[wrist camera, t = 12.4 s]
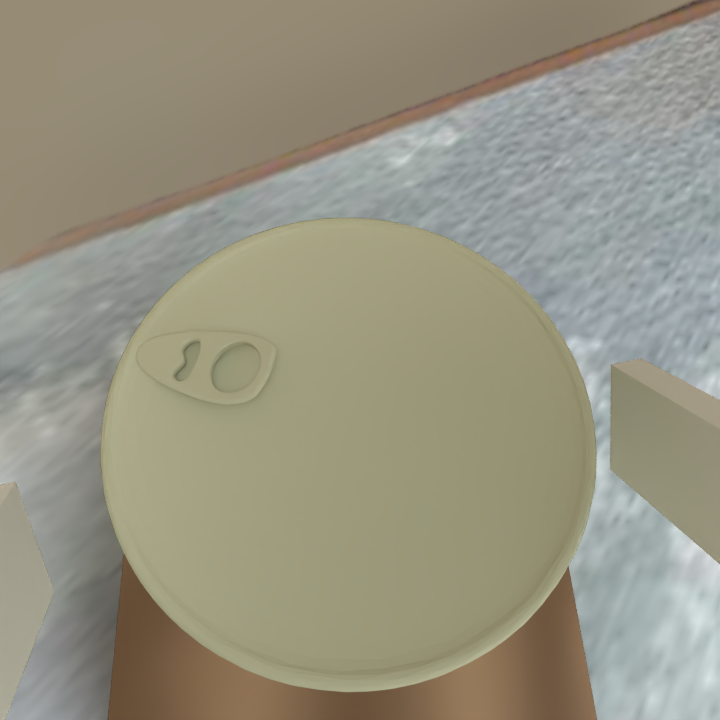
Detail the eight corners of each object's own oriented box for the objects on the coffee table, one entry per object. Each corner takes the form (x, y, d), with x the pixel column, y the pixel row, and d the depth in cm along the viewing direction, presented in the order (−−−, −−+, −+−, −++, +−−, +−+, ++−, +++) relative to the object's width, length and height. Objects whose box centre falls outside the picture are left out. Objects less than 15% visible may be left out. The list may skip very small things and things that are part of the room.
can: (259, 378, 25) (207, 152, 14) (496, 448, 24) (637, 265, 13) (159, 631, 21) (-21, 589, 10) (439, 722, 20) (573, 785, 9)
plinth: (500, 372, 30) (524, 330, 26) (562, 752, 23) (605, 766, 20) (167, 382, 29) (144, 341, 25) (135, 782, 22) (99, 804, 19)
